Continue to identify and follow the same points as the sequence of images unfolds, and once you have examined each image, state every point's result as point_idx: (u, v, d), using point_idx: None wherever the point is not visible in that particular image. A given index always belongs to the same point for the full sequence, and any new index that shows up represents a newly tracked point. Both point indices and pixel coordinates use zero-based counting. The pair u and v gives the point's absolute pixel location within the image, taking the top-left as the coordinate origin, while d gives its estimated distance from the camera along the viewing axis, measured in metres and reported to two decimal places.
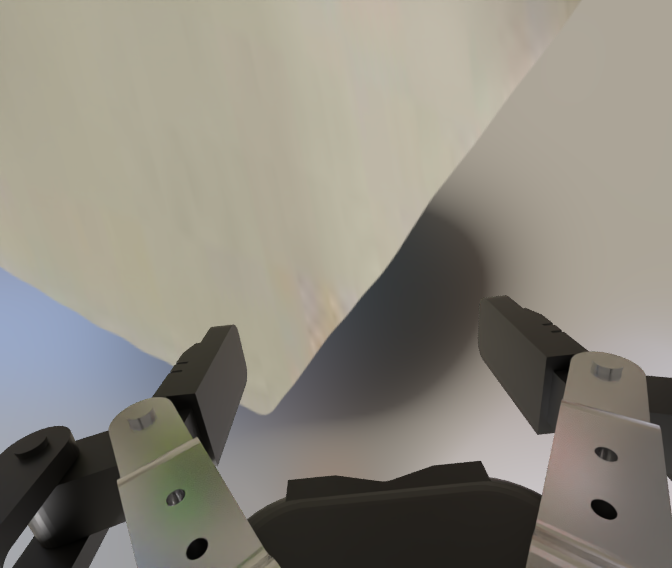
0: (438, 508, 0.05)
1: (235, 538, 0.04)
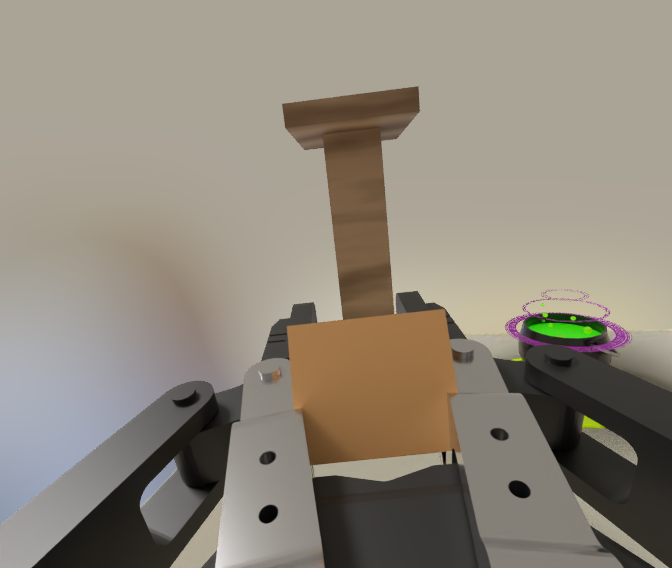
0: (438, 508, 0.05)
1: (235, 538, 0.04)
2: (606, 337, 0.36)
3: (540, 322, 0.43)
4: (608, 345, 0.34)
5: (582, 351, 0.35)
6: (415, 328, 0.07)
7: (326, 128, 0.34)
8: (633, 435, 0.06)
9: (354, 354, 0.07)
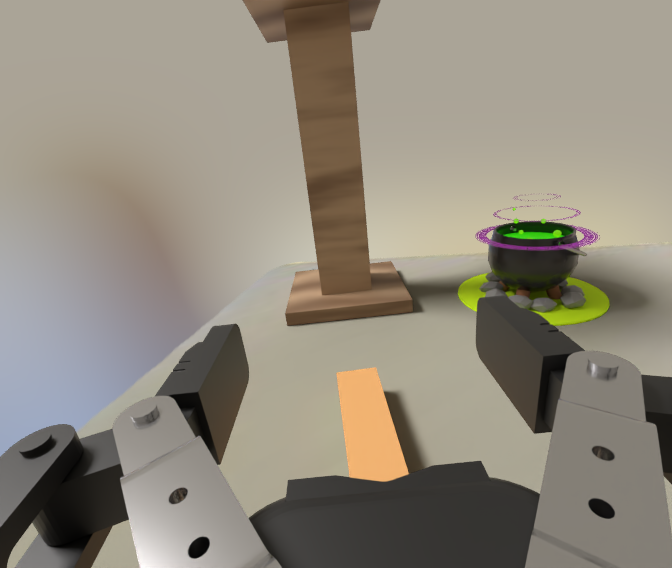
0: (438, 508, 0.05)
1: (235, 538, 0.04)
2: (574, 238, 0.35)
3: (511, 231, 0.42)
4: (575, 244, 0.34)
5: (549, 252, 0.34)
6: None
7: None
8: None
9: None
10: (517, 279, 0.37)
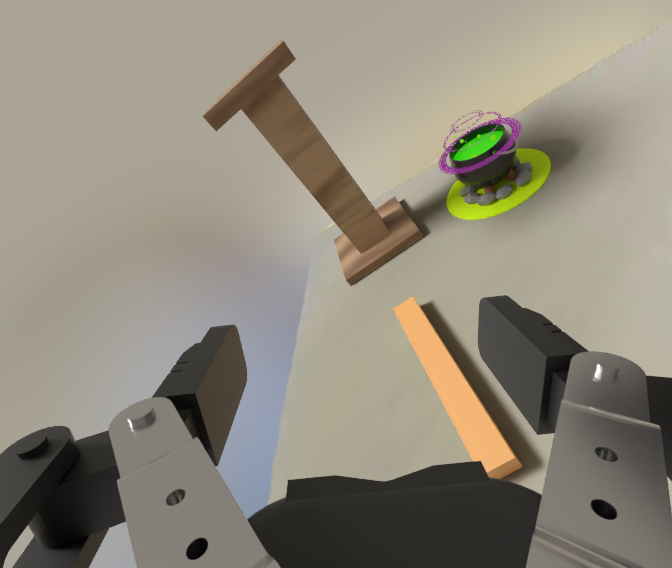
0: (438, 508, 0.05)
1: (235, 538, 0.04)
2: (505, 138, 0.47)
3: (464, 143, 0.53)
4: (504, 147, 0.46)
5: (490, 160, 0.47)
6: (509, 462, 0.28)
7: None
8: None
9: (497, 471, 0.28)
10: (478, 185, 0.50)
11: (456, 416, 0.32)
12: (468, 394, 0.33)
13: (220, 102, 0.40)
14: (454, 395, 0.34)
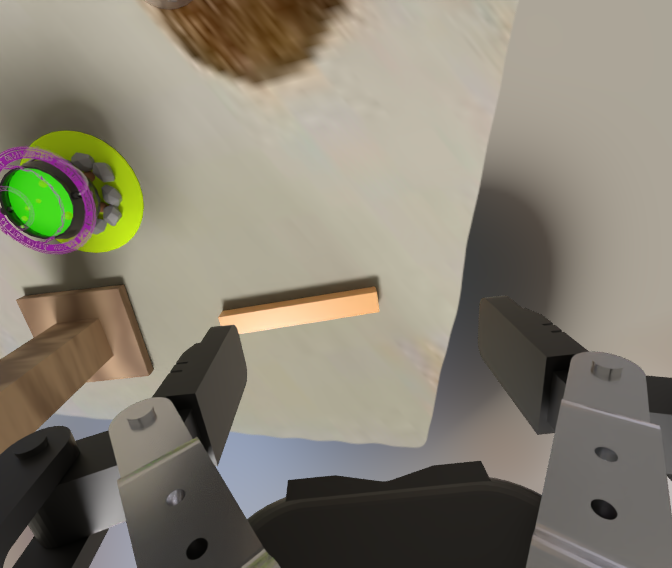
0: (438, 508, 0.05)
1: (235, 538, 0.04)
2: (57, 174, 0.37)
3: (12, 210, 0.39)
4: (78, 183, 0.38)
5: (84, 202, 0.39)
6: None
7: None
8: None
9: None
10: (96, 219, 0.43)
11: (341, 314, 0.49)
12: (330, 303, 0.49)
13: None
14: (327, 311, 0.49)
